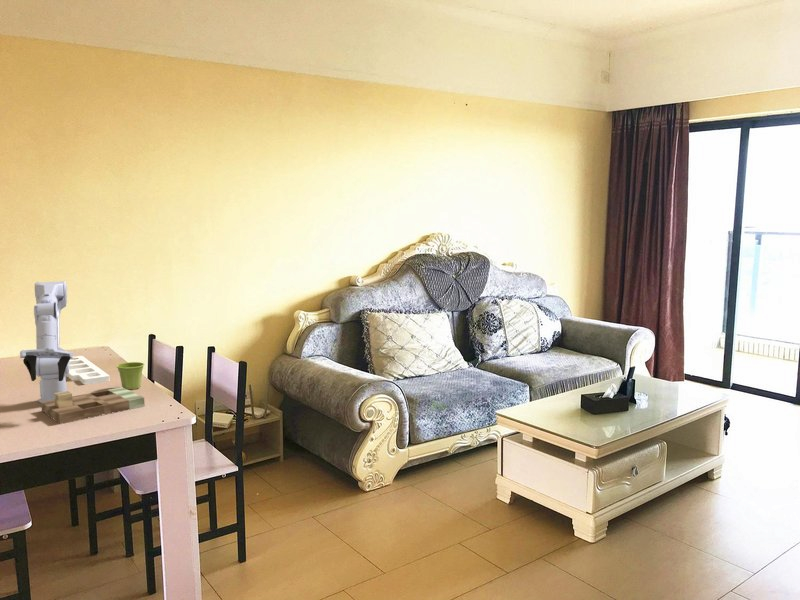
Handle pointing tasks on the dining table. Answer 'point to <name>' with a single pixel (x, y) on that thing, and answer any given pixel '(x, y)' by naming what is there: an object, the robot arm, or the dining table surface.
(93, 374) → the holder
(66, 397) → the maple block
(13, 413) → the dining table surface
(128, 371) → the plant pot
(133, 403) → the trap board
